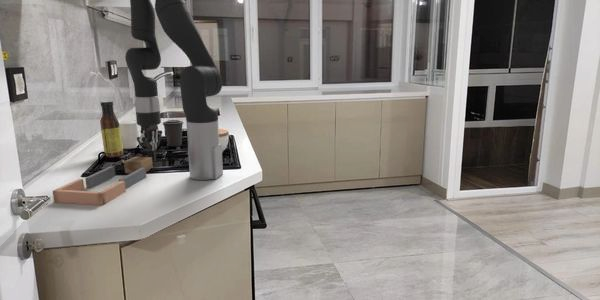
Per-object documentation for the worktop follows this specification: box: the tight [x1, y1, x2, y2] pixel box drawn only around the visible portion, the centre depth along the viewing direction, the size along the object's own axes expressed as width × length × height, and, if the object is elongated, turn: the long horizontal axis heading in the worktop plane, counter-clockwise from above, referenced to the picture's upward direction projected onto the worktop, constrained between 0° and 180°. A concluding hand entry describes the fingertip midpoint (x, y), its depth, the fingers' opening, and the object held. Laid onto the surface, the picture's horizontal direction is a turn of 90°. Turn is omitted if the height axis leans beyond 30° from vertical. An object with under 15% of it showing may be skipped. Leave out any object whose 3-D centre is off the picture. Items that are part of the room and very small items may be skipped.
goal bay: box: [52, 178, 127, 206], centre depth 110 cm, size 14×10×3 cm
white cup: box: [118, 119, 140, 150], centre depth 164 cm, size 8×8×10 cm
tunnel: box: [84, 165, 147, 190], centre depth 122 cm, size 11×12×3 cm
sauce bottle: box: [99, 100, 124, 158], centre depth 149 cm, size 7×6×20 cm
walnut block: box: [123, 156, 154, 174], centre depth 133 cm, size 6×6×4 cm
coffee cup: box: [162, 119, 184, 147], centre depth 168 cm, size 8×8×10 cm
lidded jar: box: [218, 128, 230, 153], centre depth 157 cm, size 11×11×9 cm
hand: (152, 160), depth 141 cm, fingers closed
